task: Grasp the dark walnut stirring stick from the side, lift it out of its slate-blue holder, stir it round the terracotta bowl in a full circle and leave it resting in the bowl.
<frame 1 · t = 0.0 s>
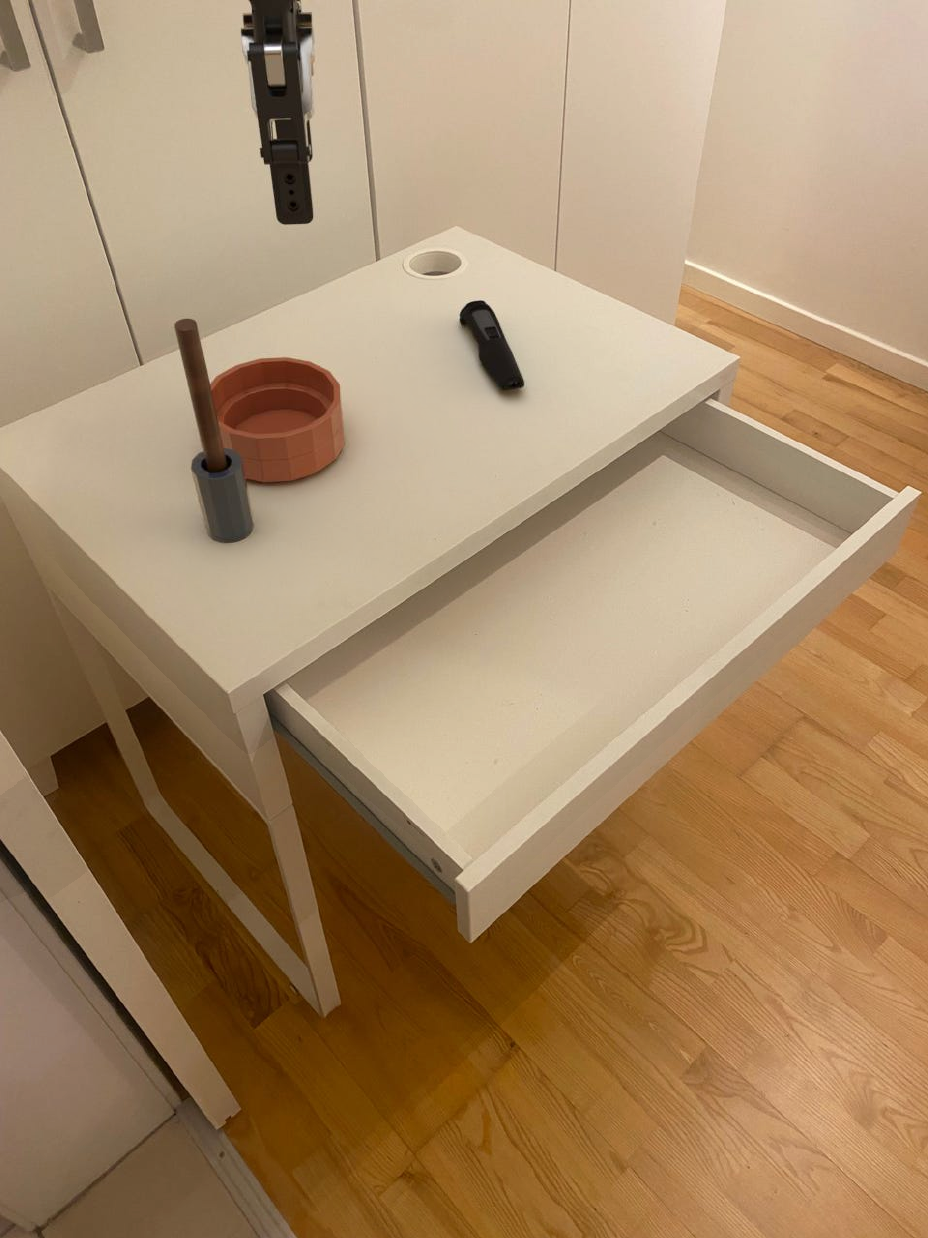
hand: (296, 190, 61), 29 cm above the table, tool pointing down, fingers open, 8 cm apart
stick: (229, 522, 82), resting on holder
electric trimmer: (493, 357, 101), on the table
bowl: (279, 444, 90), on the table
holder: (230, 526, 83), on the table
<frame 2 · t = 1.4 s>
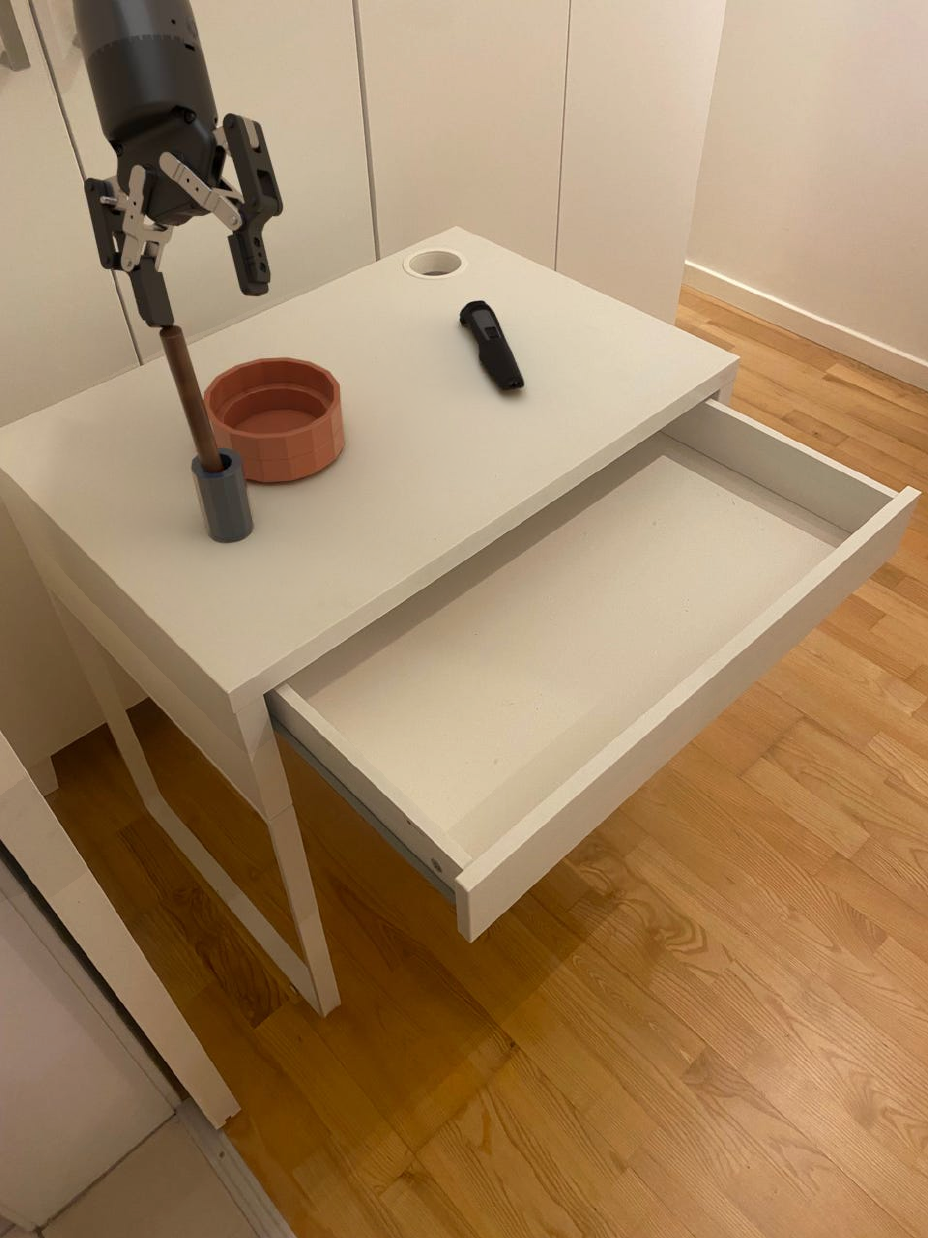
hand: (207, 310, 65), 22 cm above the table, tool tilted 40°, fingers open, 8 cm apart
stick: (229, 521, 82), point 1 cm above the table, touching gripper, holder
everything else where it was.
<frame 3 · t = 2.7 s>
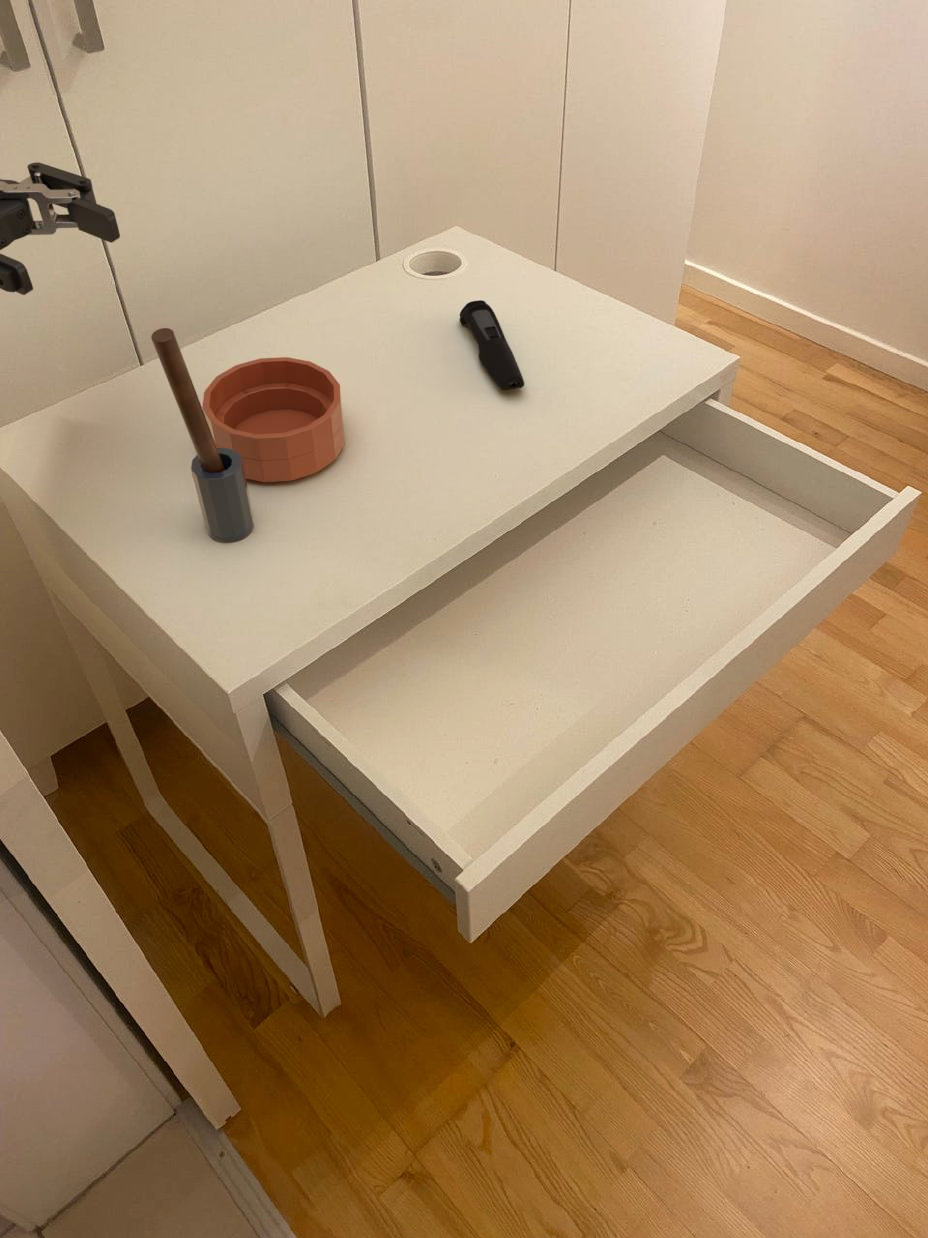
hand: (72, 253, 69), 22 cm above the table, tool horizontal, fingers open, 8 cm apart
stick: (233, 519, 82), point 1 cm above the table, tilted 7°, touching holder
everything else where it was.
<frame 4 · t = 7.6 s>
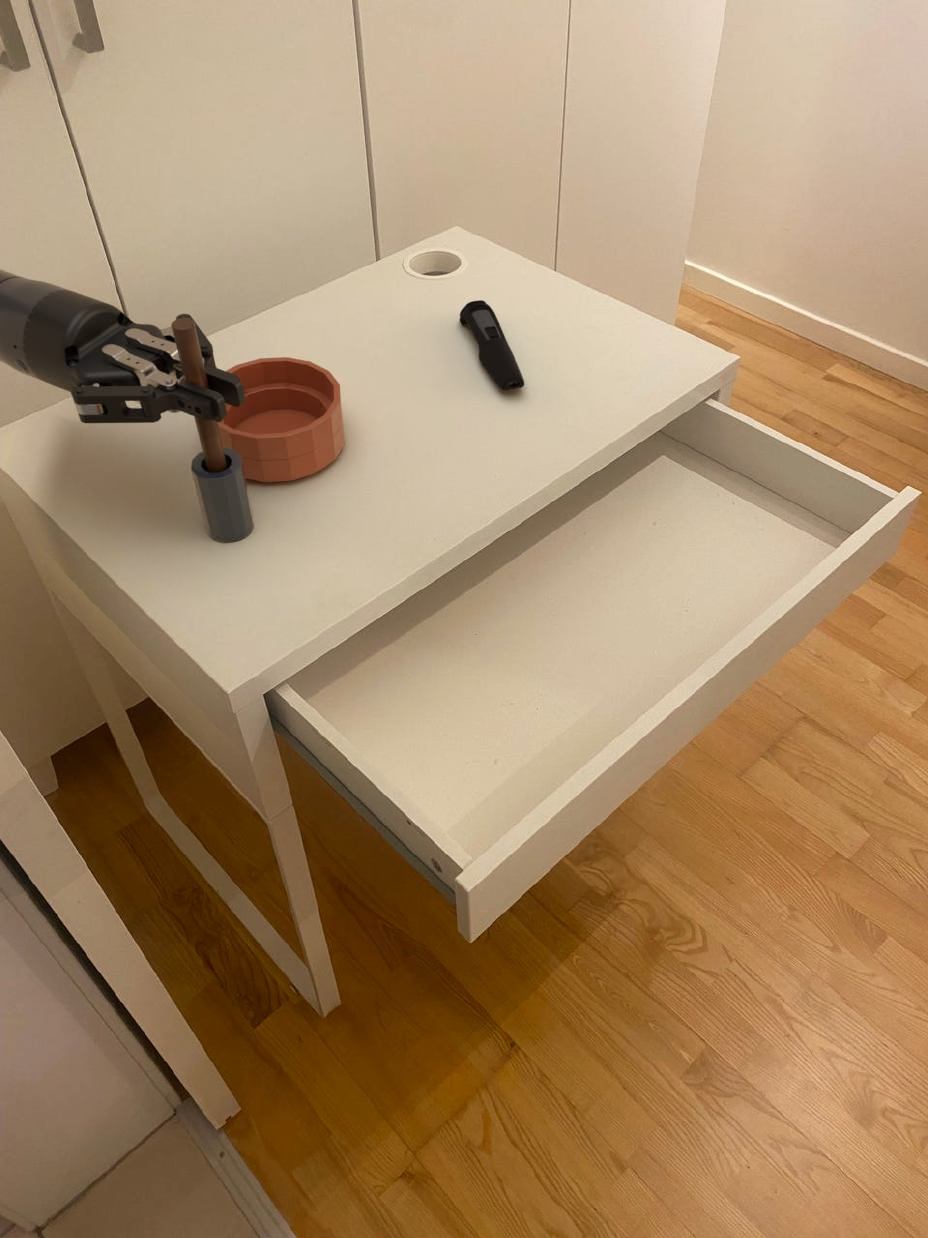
hand: (231, 401, 71), 14 cm above the table, tool horizontal, fingers closed on stick, 1 cm apart
stick: (230, 523, 82), point 1 cm above the table, touching gripper, holder
everything else where it was.
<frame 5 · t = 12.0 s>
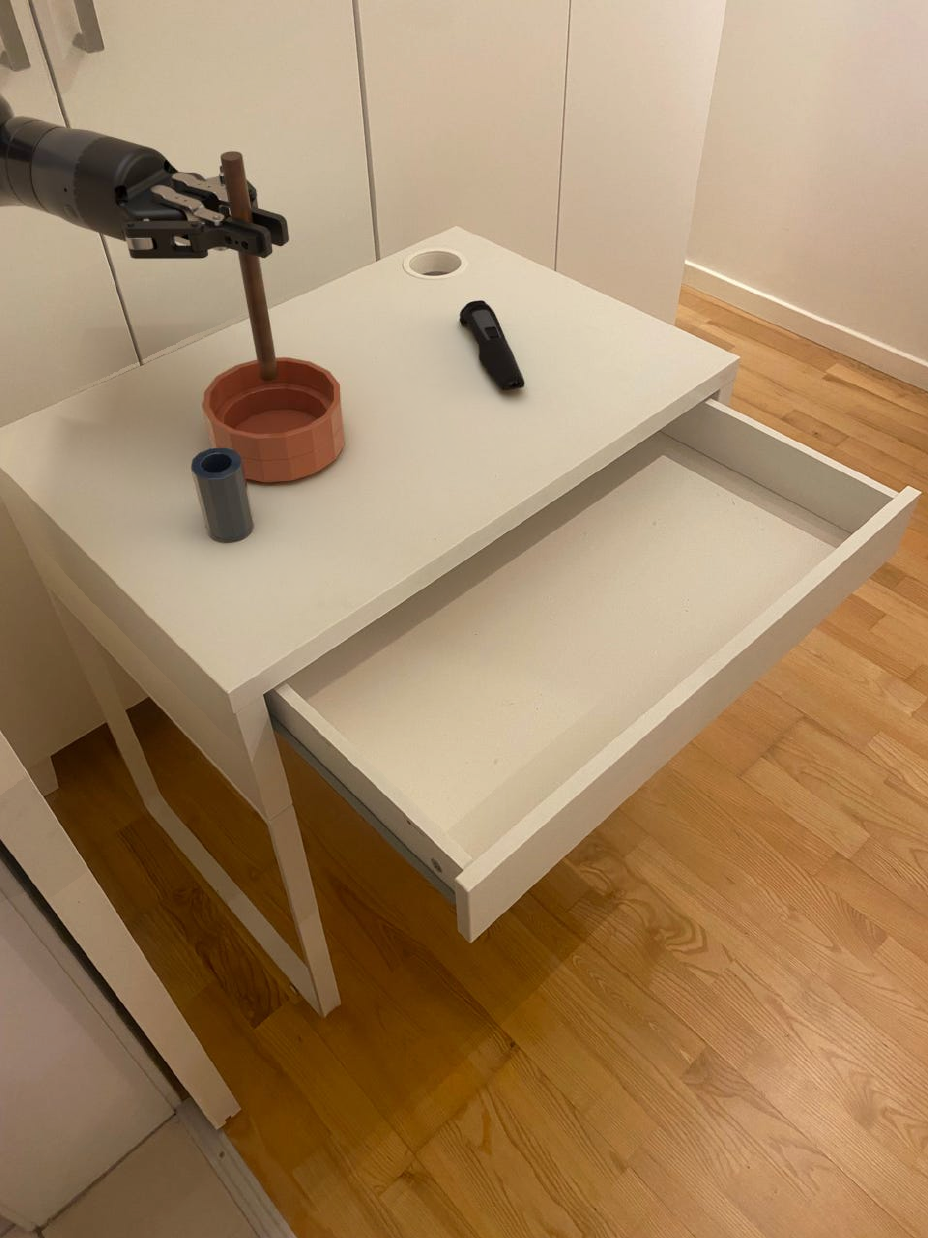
hand: (276, 237, 74), 21 cm above the table, tool horizontal, fingers closed on stick, 1 cm apart
stick: (269, 376, 85), point 7 cm above the table, touching gripper
everything else where it was.
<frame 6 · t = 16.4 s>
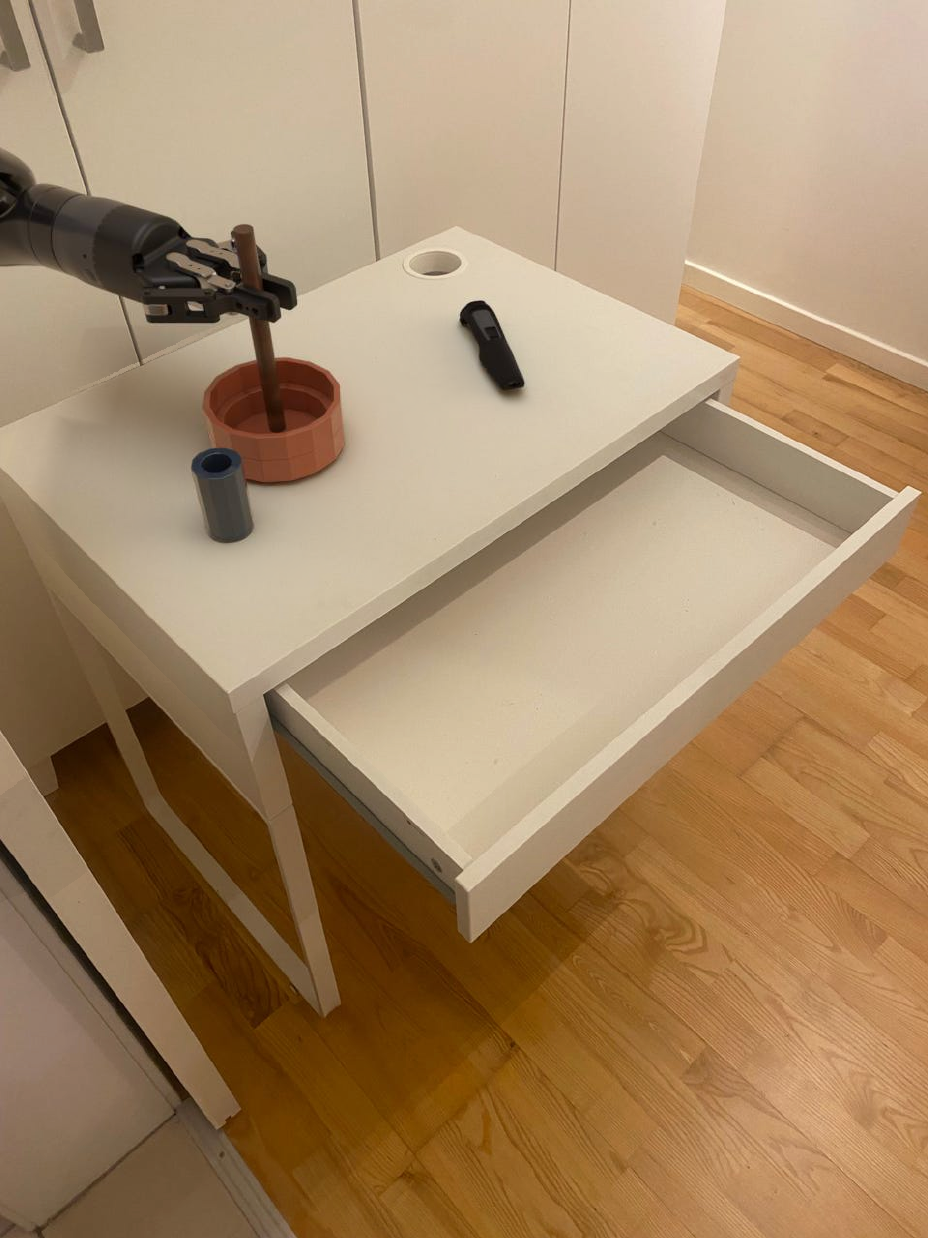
hand: (285, 303, 78), 15 cm above the table, tool horizontal, fingers closed on stick, 1 cm apart
stick: (277, 427, 89), point 2 cm above the table, touching gripper
everything else where it was.
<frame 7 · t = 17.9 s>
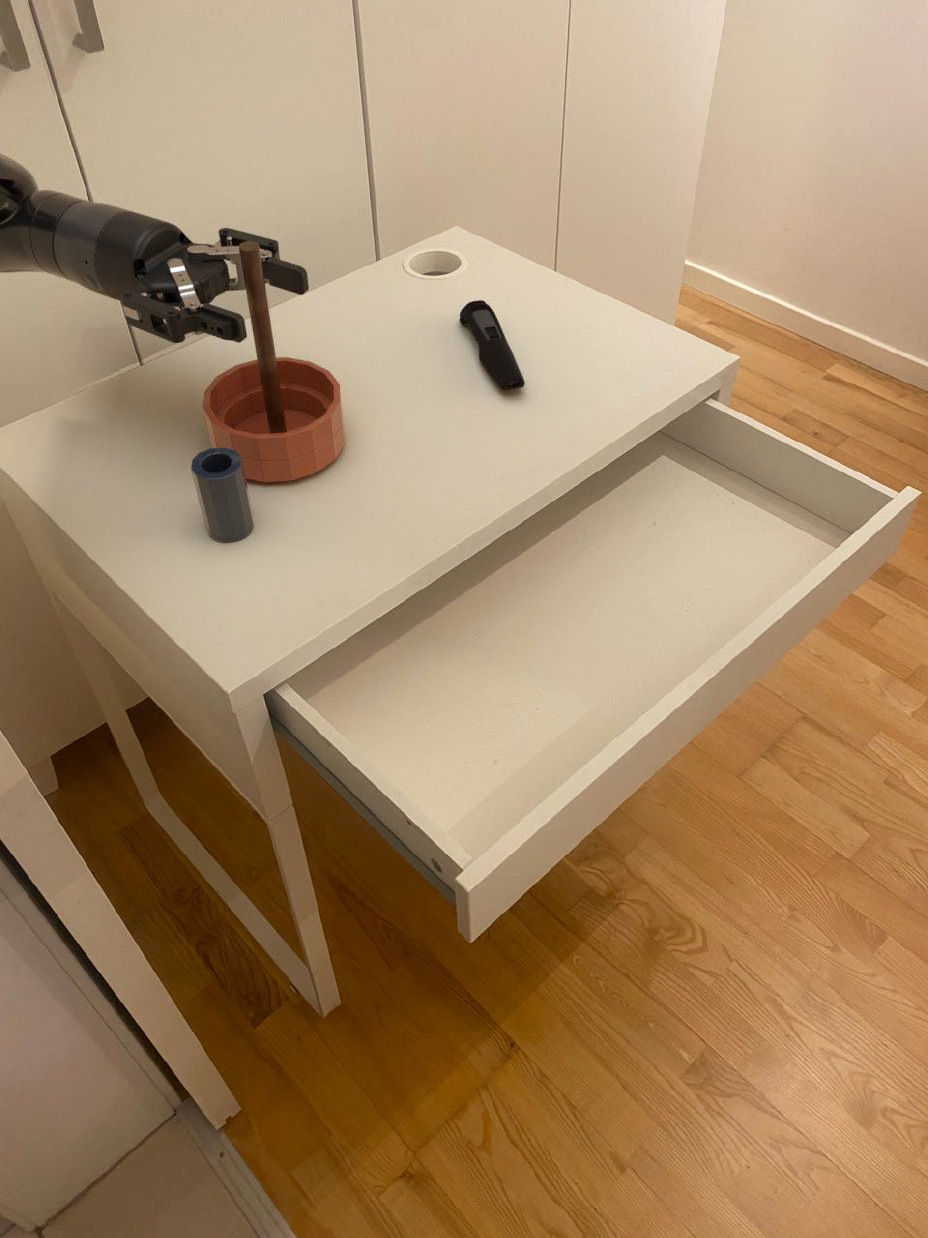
hand: (275, 305, 78), 15 cm above the table, tool horizontal, fingers open, 8 cm apart
stick: (279, 439, 90), point 1 cm above the table, touching bowl
everything else where it was.
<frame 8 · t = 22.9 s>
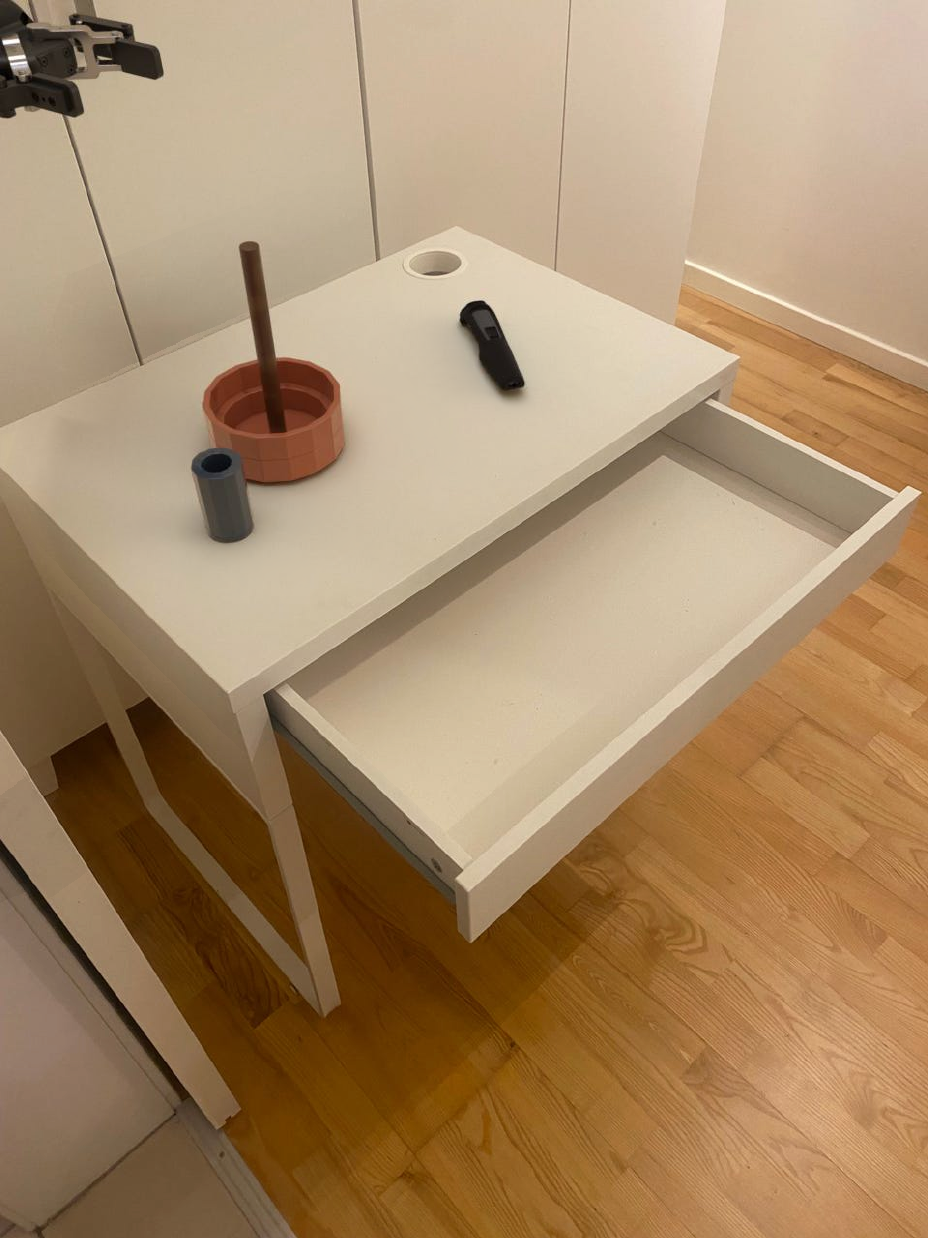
hand: (120, 81, 70), 30 cm above the table, tool horizontal, fingers open, 8 cm apart
nothing on the table moved.
at the end: stick inside the target area in the bowl (0.0 cm from its centre), point 0.6 cm above the bowl's base; the gripper is holding nothing; stick moved 11.7 cm from its start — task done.
